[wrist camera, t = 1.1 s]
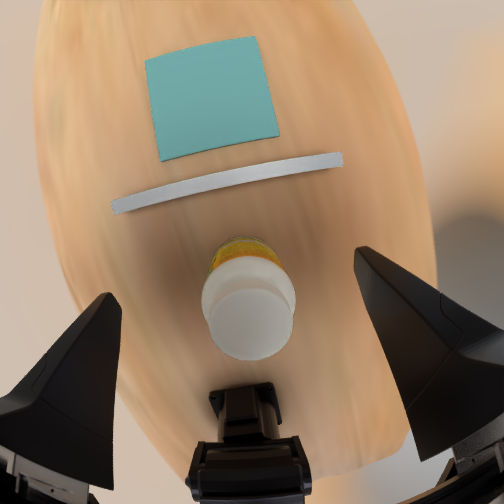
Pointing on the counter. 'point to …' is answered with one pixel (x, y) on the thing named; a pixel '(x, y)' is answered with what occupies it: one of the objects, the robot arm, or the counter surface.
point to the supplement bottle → (248, 300)
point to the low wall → (227, 180)
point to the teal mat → (209, 97)
